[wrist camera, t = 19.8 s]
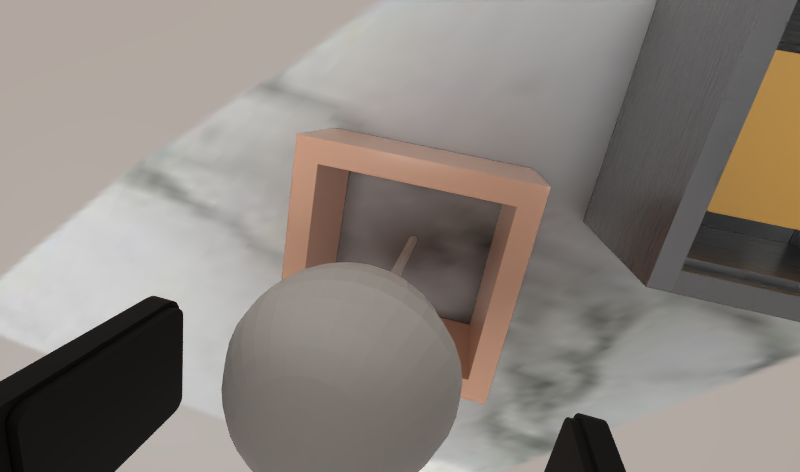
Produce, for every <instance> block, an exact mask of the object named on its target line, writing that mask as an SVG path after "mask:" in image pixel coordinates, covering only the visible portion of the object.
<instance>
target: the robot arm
mask: <svg viewBox="0 0 800 472" xmlns="http://www.w3.org/2000/svg"><path fill="white" fill-rule="evenodd" d="M182 365H183V312H182V310H180V309H179V306H178V304H177V303H176V302H174V301H171V300H167V299H164V298H160V297H156V296H151V297H148V298H146V299H144V300H143V301H141V302H139V303H137V304H136V305H134V306H132V307H130V308H129V309H127V310H125V311H123V312H122V313H120V314H118V315H116V316H115V317H113V318H111V319H109V320H108V321H106V322H104V323H102V324H100V325H99V326H97V327H95V328H93V329H92V330H90V331H88V332H86V333H85V334H83V335H81V336H79V337H78V338H76V339H74V340H72V341H71V342H69V343H67V344H65V345H64V346H62V347H60V348H58V349H57V350H55V351H53V352H51V353H50V354H48V355H46V356H44V357H42V358H41V359H39V360H37V361H35V362H34V363H32V364H30V365H28V366H27V367H25V368H23V369H22V370H20V371H18V372H16V373H14V374H13V375H11V376H9V377H7V378H6V379H4V380H2V381H0V472H115V471H116V470H117V469H118V468H119V467H120V466H121V465H122V464H123V463H124V462H125V461H126V460H127V459H128V458H129V457H130V456H131V455H132V454H133V453H134V452H135V451H136V450H137V449H138V448H139V447H140V446H141V445H142V444H143V443H144V442H145V441H146V440H147V439H148V438H149V437H150V436H151V435H152V434H153V433H154V432H155V431H156V430H157V429H158V428H159V427H160V426H161V425H162V424H163V423H164V422H165V421H166V420H167V419H168V418H169V417H170V416H171V415H172V414H173V413H174V412H175V411H176V410H177V408H178V407H179V405H180V403H181V400H182ZM544 472H626V470H625V468H624V465H623V463H622V460H621V458H620V455H619V452H618V450H617V447H616V444H615V442H614V439H613V437H612V434H611V432H610V429H609V426H608V424H607V422H606V421H604V420H602V419H598V418H594V417H591V416H587V415H583V414H580V413H577V414H576V415H575V416H574V418H573V419H572V418H569V417H567V418H566V419H565V420H564V422H563V425H562V428H561V430H560V433H559V435H558V438H557V440H556V443H555V446H554V448H553V451H552V453H551V456H550V459H549V461H548V464H547V466H546V469H545V471H544Z"/></svg>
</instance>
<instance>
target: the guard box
mask: <svg viewBox="0 0 800 472" xmlns="http://www.w3.org/2000/svg"><path fill="white" fill-rule="evenodd" d="M779 42H784V43H790V44H796V45H800V0H658V1H657V4H656V7H655V10H654V13H653V16H652V19H651V22H650V25H649V28H648V31H647V34H646V37H645V40H644V43H643V46H642V49H641V52H640V55H639V58H638V61H637V64H636V67H635V70H634V73H633V76H632V78H631V81H630V84H629V87H628V90H627V93H626V96H625V99H624V102H623V105H622V108H621V111H620V114H619V117H618V120H617V123H616V126H615V129H614V132H613V135H612V138H611V141H610V144H609V147H608V150H607V153H606V156H605V158H604V161H603V164H602V167H601V170H600V173H599V176H598V179H597V182H596V185H595V188H594V191H593V194H592V197H591V200H590V203H589V206H588V209H587V212H586V215H585V218H584V221H583V222H584V223H585V224H586V225H587V226H588V227H589V228H590V229H591V230H592V231H593V232H594V233H595V234H596V235H597V236H598V237H599V238H600V239H601V240H602V241H603V242H604V243H605V245H606V246H607V247H608V248H609V249H610V250H611V251H612V252H613V253H614V254H615V255H616V256H617V257H618V258H619V259H620V260H621V261H622V262H623V263H624V264H625V265H626V266H627V267H628V268H629V270H630V271H631V272H632V273H633V274H634V275H635V276H636V277H637V278H638V279H639V280H640V281H641V282H642V283H643V284H644V285H645V286H646V287H649V288H653V289H658V290H662V291H667V292H671V293H675V294H680V295H684V296H688V297H693V298H697V299H702V300H706V301H710V302H715V303H719V304H723V305H728V306H732V307H737V308H741V309H745V310H750V311H754V312H758V313H763V314H767V315H772V316H776V317H780V318H785V319H789V320H793V321H798V322H800V230H795V232H794V234H793V236H792V238H791V240H790V242H789V244H787V243H783V242H778V241H773V240H768V239H764V238H759V237H754V236H749V235H745V234H740V233H735V232H730V231H726V230H721V229H716V228H711V227H707V226H702V225H701V222H702V220H703V218H704V215H705V213H706V211H707V208H708V206H709V204H710V201H711V199H712V197H713V195H714V192H715V190H716V188H717V185H718V183H719V181H720V178H721V176H722V174H723V171H724V169H725V167H726V164H727V162H728V160H729V158H730V155H731V153H732V151H733V148H734V146H735V144H736V141H737V139H738V137H739V134H740V132H741V130H742V127H743V125H744V123H745V121H746V118H747V116H748V114H749V111H750V109H751V107H752V104H753V102H754V100H755V97H756V95H757V93H758V90H759V88H760V86H761V83H762V81H763V79H764V77H765V74H766V72H767V70H768V67H769V65H770V63H771V60H772V58H773V56H774V53H775V51H776V49H777V46H778V44H779Z"/></svg>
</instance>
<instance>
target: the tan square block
mask: <svg viewBox="0 0 800 472" xmlns="http://www.w3.org/2000/svg"><path fill="white" fill-rule="evenodd" d="M707 211H709V212H714V213H719V214H724V215H728V216H733V217H738V218H743V219H748V220H753V221H757V222H762V223H767V224H772V225H777V226H782V227H786V228H791V229H796V230H800V54H798V53H792V52H786V51H780V50H776V51H775V53H774V56H773V58H772V60H771V63H770V65H769V67H768V70H767V72H766V74H765V77H764V79H763V81H762V83H761V86H760V88H759V90H758V93H757V95H756V97H755V100H754V102H753V104H752V107H751V109H750V111H749V114H748V116H747V118H746V121H745V123H744V125H743V127H742V130H741V132H740V134H739V137H738V139H737V141H736V144H735V146H734V148H733V151H732V153H731V155H730V158H729V160H728V162H727V164H726V167H725V169H724V171H723V174H722V176H721V178H720V181H719V183H718V185H717V188H716V190H715V192H714V195H713V197H712V199H711V201H710V204H709V206H708V208H707Z"/></svg>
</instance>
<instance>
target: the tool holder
mask: <svg viewBox="0 0 800 472" xmlns="http://www.w3.org/2000/svg"><path fill="white" fill-rule="evenodd" d="M349 171H353V172H358V173H362V174H367V175H371V176H376V177H381V178H385V179H390V180H395V181H399V182H404V183H408V184H413V185H418V186H422V187H427V188H432V189H436V190H441V191H445V192H450V193H455V194H459V195H464V196H469V197H473V198H478V199H483V200H487V201H492V202H496V203H501V204H502V206H501V210H500V214H499V218H498V221H497V225H496V229H495V232H494V236H493V240H492V244H491V247H490V251H489V255H488V258H487V262H486V266H485V270H484V273H483V277H482V281H481V284H480V288H479V292H478V296H477V299H476V303H475V307H474V311H473V314H472V318H471V322H470V325H469V324H465V323H461V322H457V321H452V320H448V319H444V318H440V319H441V320H442V322H443V323H444V325H445V327H446V328H447V330H448V332H449V334H450V335H451V337H452V339H453V341H454V343H455V346H456V349H457V352H458V355H459V358H460V362H461V371H462V389H461V395H460V398H464V399H468V400H471V401H475V402H479V403H483V404H485V403H486V400H487V397H488V394H489V390H490V387H491V384H492V380H493V377H494V374H495V370H496V367H497V364H498V361H499V357H500V354H501V351H502V347H503V344H504V341H505V338H506V334H507V331H508V328H509V324H510V321H511V318H512V314H513V311H514V308H515V305H516V301H517V298H518V295H519V291H520V288H521V285H522V282H523V278H524V275H525V272H526V268H527V265H528V262H529V258H530V255H531V252H532V249H533V245H534V242H535V239H536V235H537V232H538V229H539V225H540V222H541V219H542V216H543V212H544V209H545V206H546V202H547V199H548V196H549V193H550V189H551V186H550V185H549V184H548V183H547V182H546V181H545V180H544V179H543V178H542V177H541V176H540V175H539V174H538V173H537V172H536V171H535V170H534V169H532V168H527V167H523V166H518V165H513V164H508V163H503V162H498V161H493V160H488V159H484V158H479V157H474V156H469V155H464V154H459V153H454V152H450V151H445V150H440V149H435V148H430V147H425V146H420V145H415V144H411V143H406V142H401V141H396V140H391V139H386V138H381V137H377V136H372V135H367V134H362V133H357V132H352V131H347V130H342V129H338V128H334V129H327V130H320V131H313V132H306V133H299V134H297V135H296V145H295V155H294V165H293V175H292V185H291V195H290V205H289V214H288V224H287V234H286V244H285V254H284V264H283V274H282V280H284V279H286V278H287V277H289V276H291V275H293V274H295V273H297V272H299V271H301V270H303V269H306V268H310V267H314V266H318V265H321V264H327V263H336V260H337V253H338V246H339V239H340V232H341V225H342V218H343V211H344V204H345V197H346V191H347V184H348V177H349Z"/></svg>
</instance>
